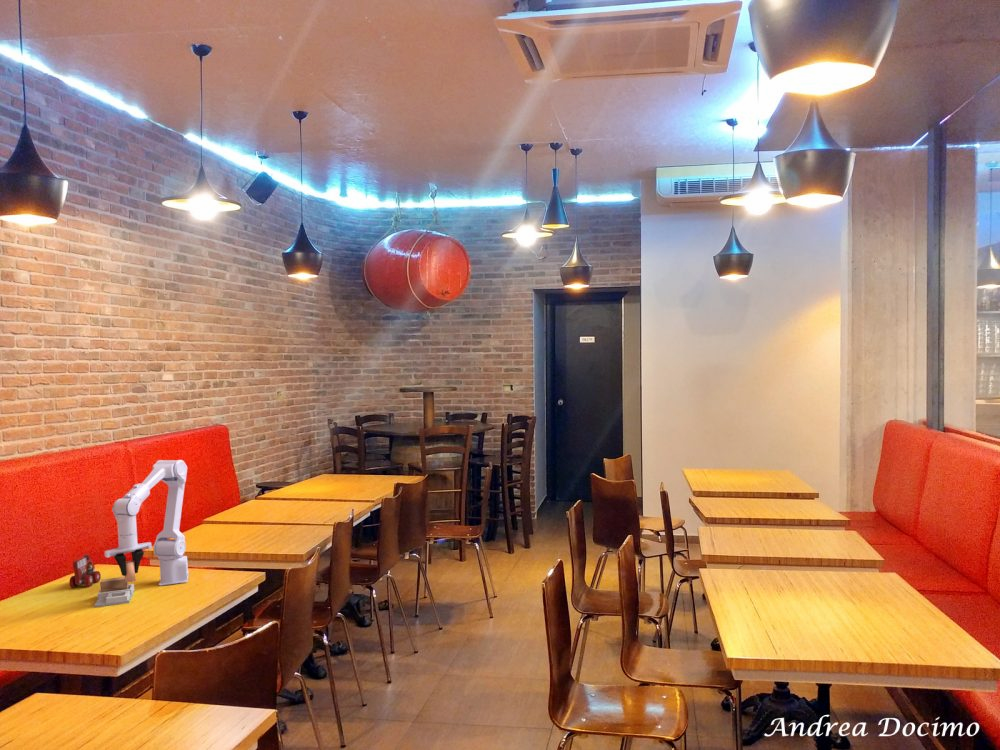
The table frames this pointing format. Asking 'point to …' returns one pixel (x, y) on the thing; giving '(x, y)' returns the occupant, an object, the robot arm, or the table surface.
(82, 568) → the toy fire truck
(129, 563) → the tail peg
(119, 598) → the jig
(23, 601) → the table surface
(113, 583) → the tan rectangular block
